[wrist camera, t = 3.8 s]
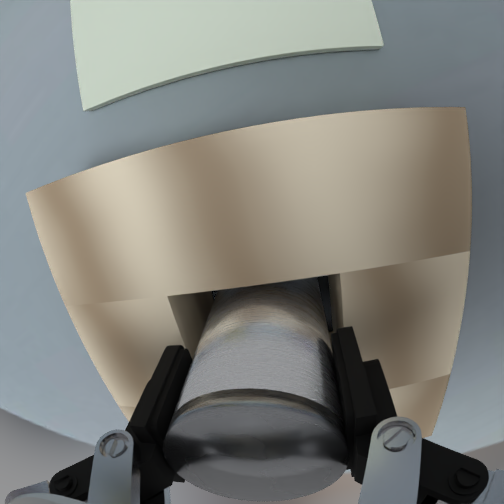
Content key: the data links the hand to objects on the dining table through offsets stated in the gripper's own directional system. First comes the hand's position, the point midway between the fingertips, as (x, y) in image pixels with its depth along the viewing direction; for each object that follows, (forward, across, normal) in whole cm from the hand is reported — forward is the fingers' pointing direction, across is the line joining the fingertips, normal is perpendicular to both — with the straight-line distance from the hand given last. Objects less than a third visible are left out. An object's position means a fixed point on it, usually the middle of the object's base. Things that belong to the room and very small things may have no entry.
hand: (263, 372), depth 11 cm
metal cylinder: (+6, 0, 0) cm, 6 cm away
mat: (+6, 0, -16) cm, 17 cm away
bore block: (+6, 0, 0) cm, 6 cm away
